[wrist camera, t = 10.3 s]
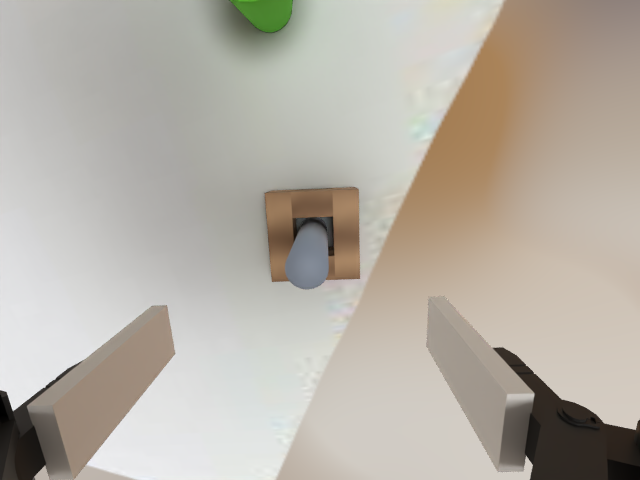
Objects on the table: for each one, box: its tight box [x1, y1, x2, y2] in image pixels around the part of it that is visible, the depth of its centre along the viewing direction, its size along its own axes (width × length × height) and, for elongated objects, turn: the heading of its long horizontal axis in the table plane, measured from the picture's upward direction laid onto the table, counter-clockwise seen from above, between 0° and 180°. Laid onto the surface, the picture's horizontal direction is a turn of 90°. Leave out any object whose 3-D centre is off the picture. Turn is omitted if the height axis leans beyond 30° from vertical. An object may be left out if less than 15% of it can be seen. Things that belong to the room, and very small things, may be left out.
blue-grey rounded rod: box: [285, 217, 329, 289], centre depth 33 cm, size 4×4×16 cm
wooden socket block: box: [265, 187, 360, 282], centre depth 38 cm, size 11×11×4 cm
